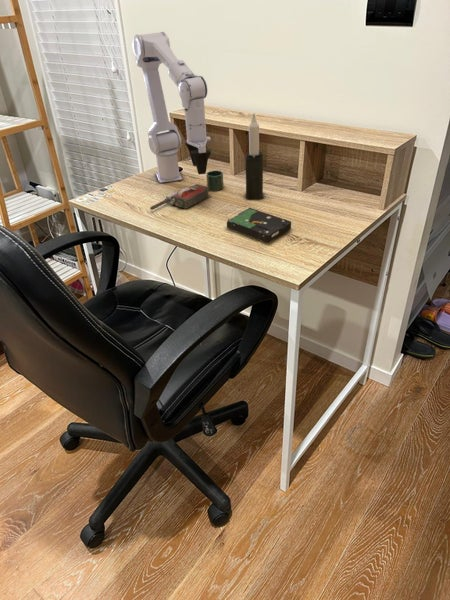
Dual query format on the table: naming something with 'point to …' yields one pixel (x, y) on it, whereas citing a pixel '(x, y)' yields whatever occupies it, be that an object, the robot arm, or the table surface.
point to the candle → (254, 163)
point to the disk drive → (259, 225)
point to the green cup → (215, 180)
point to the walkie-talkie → (185, 197)
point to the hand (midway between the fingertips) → (199, 169)
